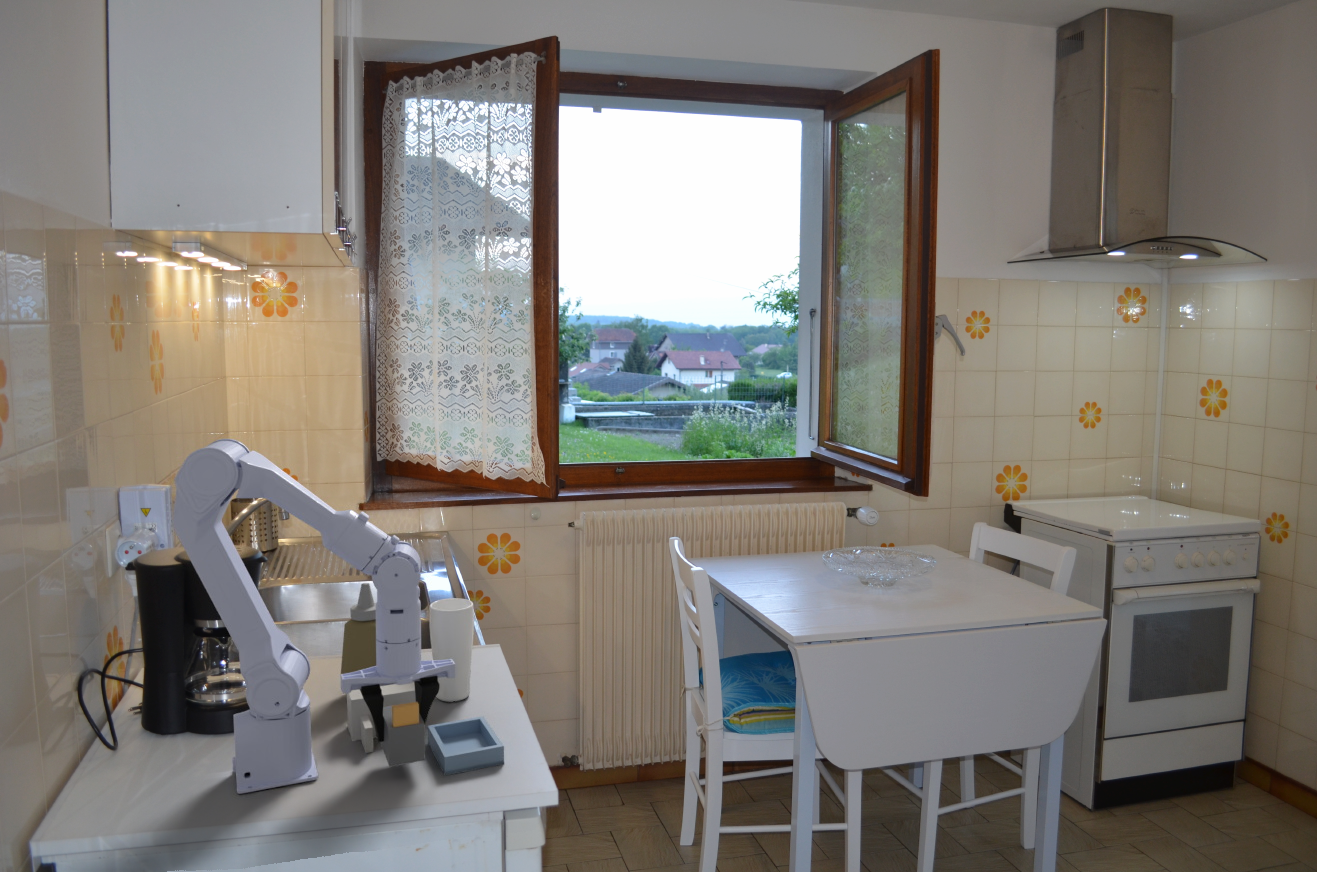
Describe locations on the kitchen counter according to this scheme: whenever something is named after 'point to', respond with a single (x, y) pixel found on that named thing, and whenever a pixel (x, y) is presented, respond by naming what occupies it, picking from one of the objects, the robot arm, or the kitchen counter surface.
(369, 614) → the squeeze bottle
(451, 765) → the tray
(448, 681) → the drinking glass
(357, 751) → the kitchen counter surface
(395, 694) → the bay
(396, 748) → the gray block with tab
